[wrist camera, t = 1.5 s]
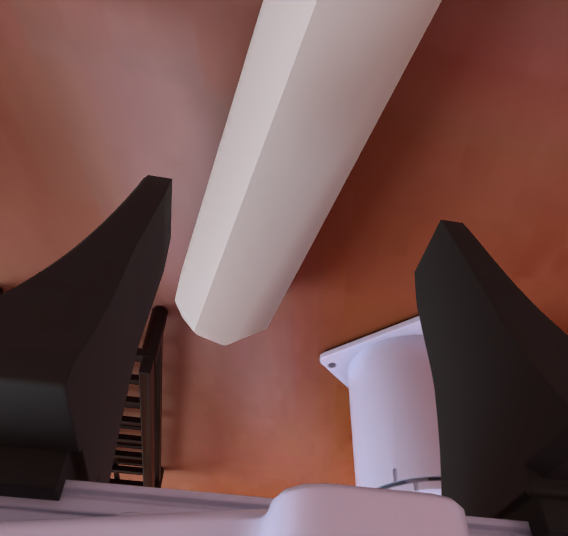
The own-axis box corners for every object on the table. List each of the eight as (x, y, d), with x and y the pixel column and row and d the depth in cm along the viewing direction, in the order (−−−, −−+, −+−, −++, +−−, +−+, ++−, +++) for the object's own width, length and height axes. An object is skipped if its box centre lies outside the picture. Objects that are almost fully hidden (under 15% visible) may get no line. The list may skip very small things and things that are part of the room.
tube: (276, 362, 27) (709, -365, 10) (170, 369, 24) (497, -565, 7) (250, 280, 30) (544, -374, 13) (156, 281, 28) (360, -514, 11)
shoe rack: (168, 306, 30) (152, 374, 27) (164, 471, 45) (153, 526, 42) (-16, 283, 29) (-55, 350, 26) (43, 460, 44) (24, 515, 41)
